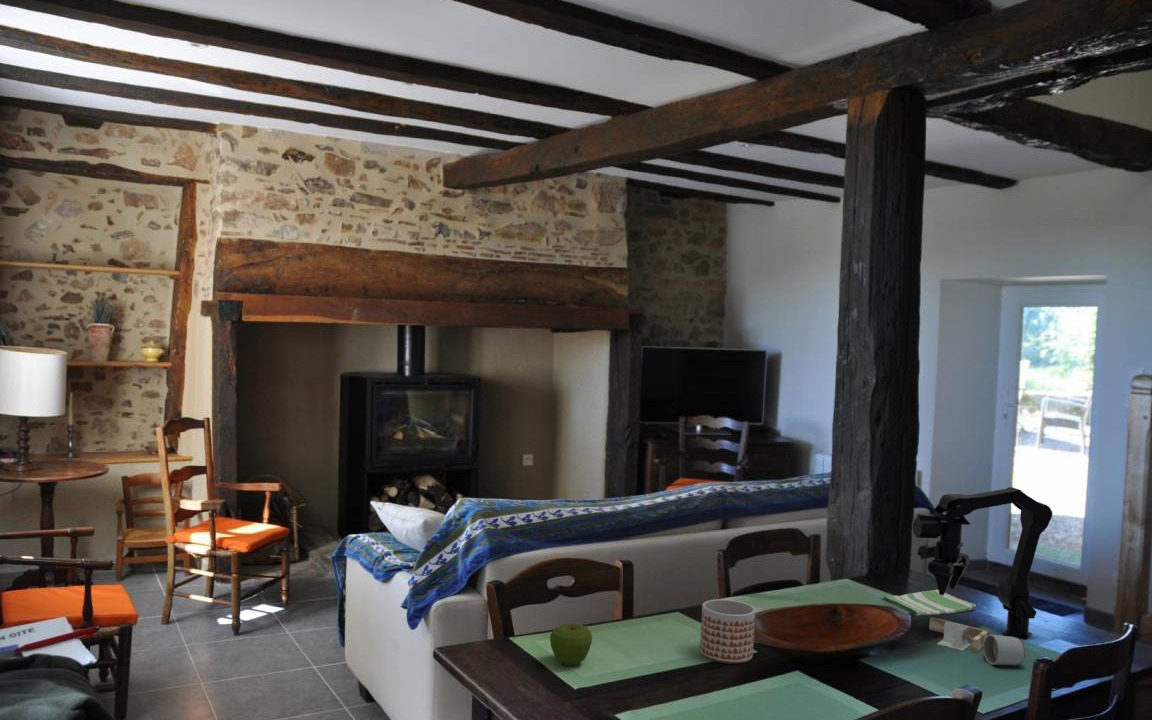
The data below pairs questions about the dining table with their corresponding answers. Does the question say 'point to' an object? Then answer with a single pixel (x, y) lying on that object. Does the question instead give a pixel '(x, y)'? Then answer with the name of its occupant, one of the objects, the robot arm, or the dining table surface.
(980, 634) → the corner arena
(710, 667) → the dining table surface
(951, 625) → the bracket
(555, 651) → the apple
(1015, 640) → the ceramic mug
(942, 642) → the pad
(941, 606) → the dish towel
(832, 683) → the dining table surface
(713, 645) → the planter
